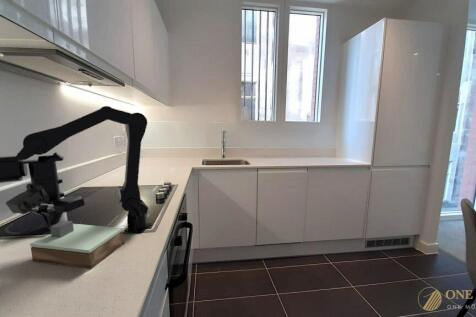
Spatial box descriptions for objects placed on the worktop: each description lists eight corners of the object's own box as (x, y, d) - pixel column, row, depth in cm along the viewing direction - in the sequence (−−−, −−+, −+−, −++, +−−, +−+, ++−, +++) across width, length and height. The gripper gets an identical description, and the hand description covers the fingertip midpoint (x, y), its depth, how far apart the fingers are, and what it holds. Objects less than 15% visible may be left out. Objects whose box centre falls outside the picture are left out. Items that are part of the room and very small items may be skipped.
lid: (72, 226, 70) (70, 214, 69) (122, 230, 66) (121, 218, 66) (30, 246, 58) (28, 232, 58) (89, 253, 55) (87, 238, 54)
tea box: (73, 238, 70) (72, 226, 70) (124, 243, 67) (122, 231, 67) (32, 261, 59) (30, 247, 58) (91, 269, 55) (89, 254, 55)
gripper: (-20, 184, 55) (-8, 242, 58) (41, 187, 52) (51, 249, 54) (29, 174, 66) (37, 223, 69) (82, 176, 63) (89, 228, 65)
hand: (52, 230), depth 64 cm, fingers closed
